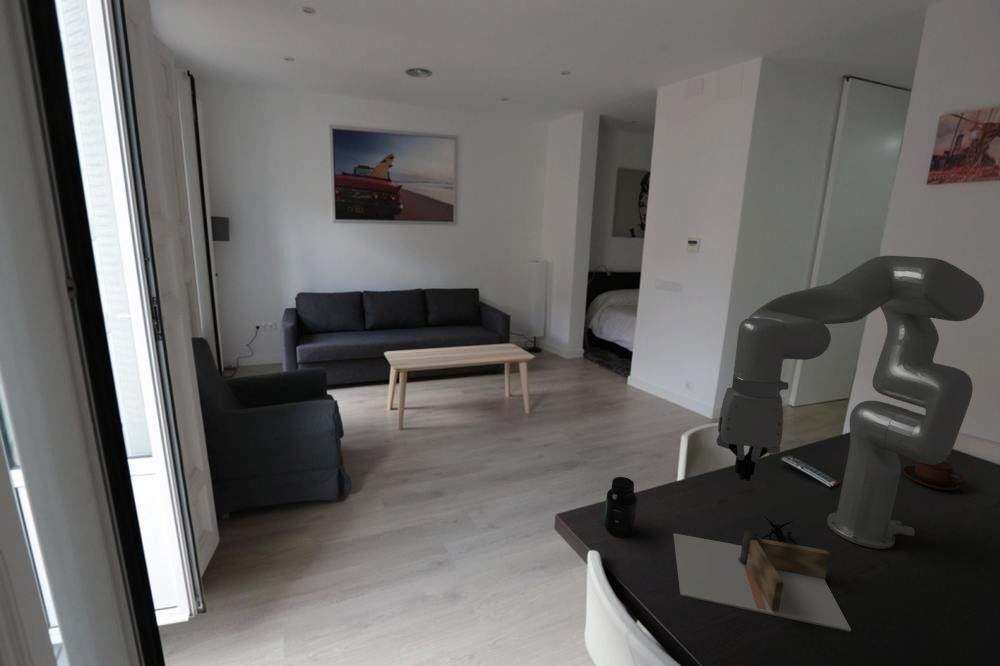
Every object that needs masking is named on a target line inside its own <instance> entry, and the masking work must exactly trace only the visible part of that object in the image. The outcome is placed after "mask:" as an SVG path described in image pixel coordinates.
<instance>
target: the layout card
mask: <svg viewBox="0 0 1000 666" xmlns="http://www.w3.org/2000/svg"><path fill="white" fill-rule="evenodd" d="M673 542H674V551H675V559H676V561H675V562H676V569H677V576H678V577H677V578H678V585H679V593H680V594H679V595H680V596H682V597H686V598H690V599H695V600H699V601H700V600H701V601H705V602H709V603H714V604H718V605H722V606H727V607H733V608H736V609H740V610H741V609H743V610H747V611H750V612H755V613H761V614H765V615H770V616H775V617H779V618H784V619H789V620H794V621H798V622H802V623H806V624H807V623H808V624H812V625H816V626H822V627H826V628H831V629H836V630H839V631H840V630H841V631H844V632H848V633H852V628H851V626H850V625H849V623H848V621H847V619H846V618H845V616H844V613H843V612H842V610H841V608H840V606H839V604H838V602H837V600H836V599H835V597H834V594H833V593H832V590H831V589H830V588H829V586H828V584H827V582H826V577H825V578H819V577H814V576H809V575H804V574H798V573H793V572H788V571H783V570H777V569H775V570H776V572H777V573H778V575H779V576H780V578H781V579H782V581H783V589H782V595H781V600H780V606H779V611H772V610H771V609H770V607H769V605H768V603H767V601H766V600H765V598H764V596H763V594H762V592H761V591H760V589H759V587H758V585H757V583H756V582H755V580H754V578H753V576H752V574H751V573H750V571H749V569H748V567H747V565H744V564H743V563H741V561H740V556H741V550H742V544H741V545H738V544H735V543H729V542H722V541H718V540H712V539H706V538H702V537H696V536H691V535H685V534H680V533H673Z"/></svg>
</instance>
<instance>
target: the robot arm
mask: <svg viewBox="0 0 1000 666" xmlns="http://www.w3.org/2000/svg"><path fill="white" fill-rule="evenodd" d="M984 300H985V291H984V288H983V286H982V284H981V283H980V282H979V281H978V280H977V279H976V277H975V278H974V277H973V276H971V274H969V273H967V272H966V271H964V270H963V269H961V268H959V267H957V266H955V265H954V264H952V263H951V262H949V261H946V260H943V259H941V258H940V259H939V258H937V257H936V258H935V257H926V256H925V257H924V256H905V255H904V256H903V255H880V256H876V257H873V258H871V259H869V260H868V259H867V261H865V262H863V263H862V264H860V265H859V266H857V267H855V268H854V269H852V270H851V271H849V272H847V273H846V274H844V275H843V276H841V277H839V278H838V279H836V280H834V281H833V282H831V283H827V284H823V285H818V286H813V287H811V288H807V289H803V290H797V291H793V292H790V293H787V294H783V295H781V296H778V297H776V298H774V299H772V300H770V301H768V302H767V303H765V304H764V305H762V306H760V307H759V308H757V309H756V310H755V311H753V312H752V314H750V315H749V317H748V318H746V319H744V320H742V321H741V323H739V326H738V332H737V333H738V334H737V340H736V341H737V342H736V349H735V359H734V367H733V368H734V369H733V376H732V384H731V387H727V388H726V389H725V393H724V396H723V400H722V404H721V407H720V414H719V418H718V422H717V423H718V425H717V431H718V435H717V438H716V445H717V446H718V447H721V448H724V449H727V450H730V451H731V453H732V454H734V456H735V465H734V472H735V473H736V474H737V475H738V477H739V479H740V480H741V481H744V480H746V481H748V482H750V481H751V476H754V474H755V469H756V468H755V467H756V463H757V462H758V461H759V459H760V458H762V457H764V456H765V455H767V454H776V453H780V452H781V447H780V446H781V443H782V439H783V429H784V428H783V426H784V424H783V423H784V412H783V410H784V409H783V406H784V405H783V398H782V394H781V391H784V390H787V391H788V390H789V382H785V381H783V380H781V379H782V378H781V377H782V370H783V362H784V360H799V361H803V360H804V361H805V360H806V361H807V360H808V361H809V360H812V359H816V358H818V357H819V356H822V355H823V354H824V353H825V352H826V351H827V350H828V348H829V346H830V344H831V339H832V336H831V332H830V330H829V328H828V327H827V326H826V325H837V324H838V325H839V324H846V323H847V324H848V323H854V322H858V321H860V320H862V319H864V318H866V317H867V316H868V315H870V314H872V313H873V312H874V311H876V310H878V309H879V308H880V309H881V311H882V313H883V315H884V319H885V321H886V327H887V331H886V336H885V338H884V339H885V340H884V343H883V346H882V350H881V351H880V355H879V358H878V360H877V364H876V366H875V370H874V373H873V377H872V387H873V389H874V390H875V391H876V392H877V393H878V394H879V395H880V394H881V395H883V396H886V397H888V398H891V399H894V400H897V401H901V402H904V403H907V404H910V405H913V406H917V407H920V408H923V409H925V414H923V413H918V412H916V411H913V410H910V409H907V408H904V407H901V406H897V405H894V404H890V403H888V402H884V401H878V400H865V401H861V402H860V403H859V402H858V404H856V405H855V406H854V408H853V409H852V410H851V413H850V417H849V435H850V436H849V437H850V438H849V449H848V455H847V461H846V465H845V471H844V476H843V480H842V484H841V485H842V486H841V491H840V495H839V501H838V506H837V511H834V512H831V513H829V514H828V516H827V520H826V521H827V526H828V527H829V528H830V529H831V530H832V531H833V532H834V533H835V534H837V535H838V536H839V537H841V538H843V539H845V540H847V541H849V542H851V543H853V544H856V545H859V546H862V547H865V548H871V549H877V550H879V549H881V550H883V549H891V548H892V547H893V546H894V545H895V542H896V537H895V536H896V535H898V534H899V535H903V536H909V537H914V536H915V533H916V532H915V529H914V527H912V526H907V525H903V523H902V521H900V520H897V519H893V520H892V519H891V518H892V513H893V508H894V505H895V500H896V497H897V492H898V487H899V484H900V478H901V473H902V465H901V461H900V458H899V455H901V456H904V457H905V458H908V459H910V460H914V461H916V462H917V461H918V462H921V463H925V464H929V465H936V464H939V463H942V462H943V461H944V462H945V461H946V460H947V459H948V457H949V456H950V454H951V452H952V450H953V448H954V446H955V443H956V441H957V438H958V435H959V433H960V430H961V428H962V424H963V422H964V419H965V417H966V414H967V411H968V409H969V406H970V403H971V400H972V395H973V390H974V389H973V382H972V381H973V380H972V378H971V376H970V375H969V374H968V373H967V372H965V371H963V370H961V369H960V368H957V367H953V366H949V365H946V364H942V363H941V364H940V363H936V362H934V357H935V354H936V350H937V347H938V345H939V341H940V337H939V332H938V330H937V328H936V326H935V324H934V322H933V321H932V319H937V320H944V321H948V322H964V321H967V320H969V319H972V318H973V317H974V316H976V315H977V314H978V312H980V310H981V308H982V307H983V305H984V302H985V301H984ZM745 446H746V447H748V450H747V453H745Z"/></svg>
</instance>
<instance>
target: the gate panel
mask: <svg viewBox="0 0 1000 666" xmlns="http://www.w3.org/2000/svg"><path fill="white" fill-rule="evenodd" d="M747 567H748V569H749V571H750V573H751V574H752V576H753V578H754V580H755V582H756V583H757V585H758V587H759V589H760V591H761V592H762V594H763V596H764V598H765V600H766V601H767V603H768V605H769V607H770V609H771V610H772V611H779V606H780V600H781V595H782V589H783V581H782V579H781V578H780V576H779V575H778V573H777V572H776V570H775V568H774V567H773V565H772V564H771V562H770V561H769V559H768V557H767V556H766V554H765V553H764V551H763V549H762V548H761V546H760V545H759V543H758V542H757V540H750V546H749V553H748V559H747Z"/></svg>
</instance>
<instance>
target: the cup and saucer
mask: <svg viewBox="0 0 1000 666" xmlns="http://www.w3.org/2000/svg"><path fill="white" fill-rule="evenodd" d="M953 467H954V466H953V465H952V464H950V463H949V462H947V461H945V460H944V461H943V462H942V463H939V464H936V465H929V464H925V463H921V462H918V461H916V463H915V465H909V466H906V467H904V468H903V472H904V474H905V475H906V477H908V478H909V479H910V480H912V481H914V482H915V483H917V484H920V485H922V486H924V487H927V488H930V489H936V490H939V491H940V490H942V491H954V490H958V489H960V488H961V487H962V483H963V482H964V481H965V480H964V475H962V474H961V473H960V472H957V471H953V470H954V469H953ZM952 475H956V476H958V477H959V478H960V479H959V480H958V479H957V478H955V477H954V476H952Z"/></svg>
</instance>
